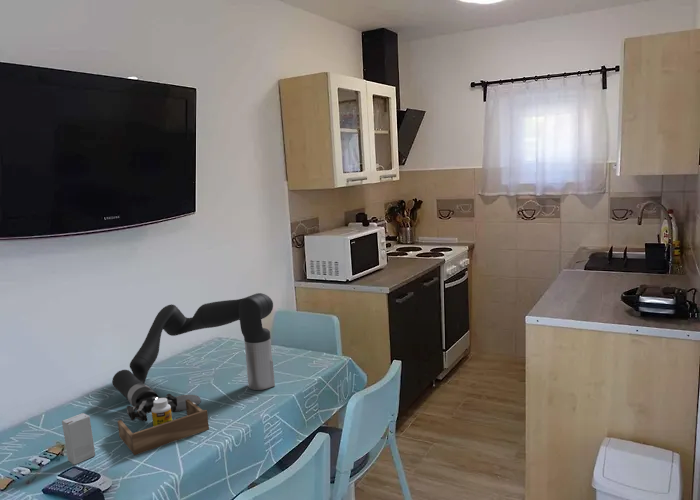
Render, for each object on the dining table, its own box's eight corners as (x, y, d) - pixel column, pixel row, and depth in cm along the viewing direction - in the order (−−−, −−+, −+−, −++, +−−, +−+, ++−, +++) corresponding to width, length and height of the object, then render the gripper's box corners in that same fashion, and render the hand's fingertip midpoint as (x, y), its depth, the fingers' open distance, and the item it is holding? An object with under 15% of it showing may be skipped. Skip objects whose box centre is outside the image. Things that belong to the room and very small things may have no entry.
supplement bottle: (156, 438, 164) (153, 406, 162) (152, 432, 168) (148, 400, 167) (175, 433, 167) (172, 400, 165) (170, 426, 171) (167, 395, 170)
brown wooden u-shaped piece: (119, 436, 167) (116, 417, 166) (190, 413, 180) (188, 396, 179) (134, 455, 155) (132, 435, 154) (209, 429, 168) (207, 410, 167)
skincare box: (88, 451, 158) (83, 411, 157) (96, 456, 155) (90, 415, 154) (66, 461, 154) (60, 419, 152) (73, 466, 151) (68, 424, 149)
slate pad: (201, 394, 195) (201, 392, 195) (199, 408, 183) (199, 406, 183) (165, 399, 192) (165, 397, 192) (161, 414, 181) (161, 411, 181)
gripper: (165, 402, 185) (184, 417, 172) (121, 415, 177) (137, 433, 164) (163, 380, 184) (181, 395, 171) (118, 393, 175) (134, 409, 163)
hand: (160, 413), depth 168 cm, fingers open, 8 cm apart
